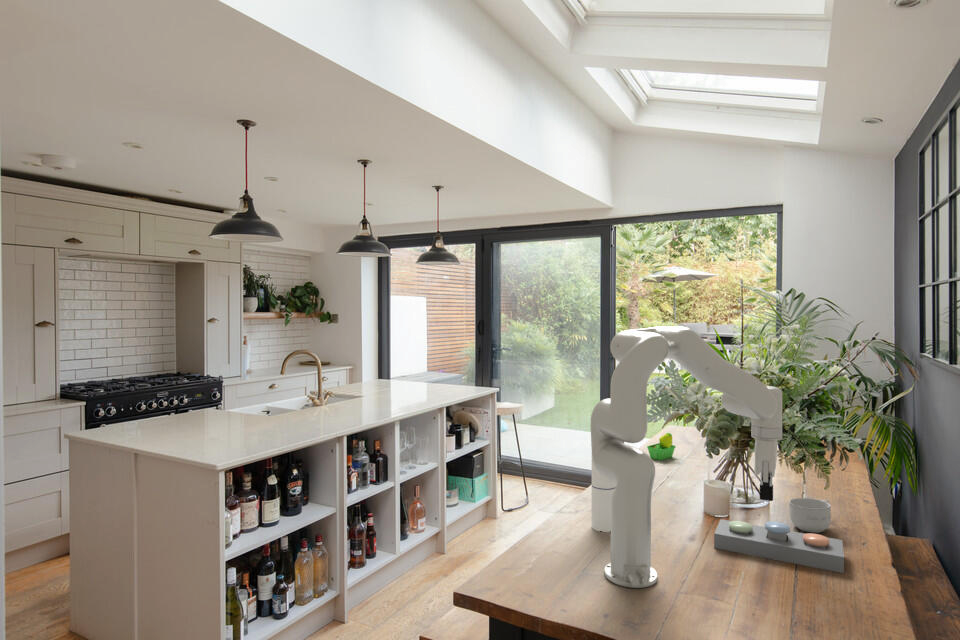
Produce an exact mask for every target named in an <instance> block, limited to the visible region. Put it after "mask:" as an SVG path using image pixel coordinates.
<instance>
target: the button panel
mask: <svg viewBox="0 0 960 640" xmlns="http://www.w3.org/2000/svg"><path fill="white" fill-rule="evenodd" d="M731 521H732V520H727V519H722V518H721V519H719V522H718V523H717V524H718V525H716V526H717V527H716V529H715V531H714V532H713V533H714V535H713V542H714V543H713V548H714V549H716V550H717V549H718V550H724V551H726V552H727V551H728V552H733V553H738V554H742V555H749V556H753V557H759V558H763V559H769V560H773V561H774V560H775V561H779V562H785V563H790V564H796V565H800V566H804V567H810V568H813V569H814V568H815V569H818V570H819V569H820V570H826V571H831V572H835V573H841V574H845V553H844V545H843V540H842V539H838V538H833V537H827V538H828V539H829V545H828V546H826V549H824V548H819V547H813V546H807V545H806V542H804V541H803V535H804V534H805V533H803V532H799V531H798V532H797V531H791V530H790V532H789V533H787V542H785V541H780V540H774V539H768V530H766V529H765V526H762V525H755V524H751V525H752V526H753V531H752V532H750V535H746V534H740V533H735V532H731V529H730V528H729V522H731Z"/></svg>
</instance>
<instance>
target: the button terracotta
mask: <svg viewBox="0 0 960 640" xmlns="http://www.w3.org/2000/svg"><path fill="white" fill-rule="evenodd" d="M828 538H829V537H828V536H825V535H822V534H819V533H813V532H807V533H804V535H803V541H804V542H806V545H807V546H813V547H819V548H824V549H826V546H828V545H829V539H828Z"/></svg>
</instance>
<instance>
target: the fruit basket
mask: <svg viewBox="0 0 960 640" xmlns="http://www.w3.org/2000/svg"><path fill="white" fill-rule="evenodd" d="M658 441H659V443H656V444H655V443H654V444H651V445H646V448H647V450H648V455H649V456H650V457H651V459H652V460H658V461H663V460H667V459H669V458H673V455H674V452H675V449H676V445H673V434H671V432H666V433H665V434H664V435H662V436H661V437H659V439H658Z"/></svg>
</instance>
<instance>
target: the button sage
mask: <svg viewBox="0 0 960 640" xmlns="http://www.w3.org/2000/svg"><path fill="white" fill-rule="evenodd" d="M730 521H731V522H729V528H730V529H731V532H735V533H740V534H746V535H750V532H752V531H753V526H752V525H753V524H751V523H749V522H747V521H746V522H745V521H743V520H742V521H741V520H730Z"/></svg>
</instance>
